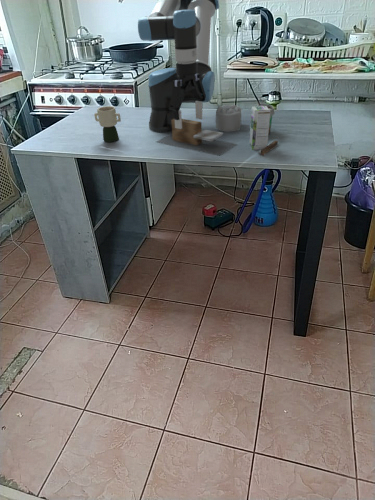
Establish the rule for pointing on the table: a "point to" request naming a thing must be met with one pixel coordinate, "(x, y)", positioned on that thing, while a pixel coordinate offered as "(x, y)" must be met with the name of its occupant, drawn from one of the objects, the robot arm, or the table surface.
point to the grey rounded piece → (228, 118)
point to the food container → (270, 114)
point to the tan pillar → (193, 132)
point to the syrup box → (259, 127)
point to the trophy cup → (108, 122)
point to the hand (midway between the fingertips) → (189, 123)
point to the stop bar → (268, 147)
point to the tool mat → (200, 145)
